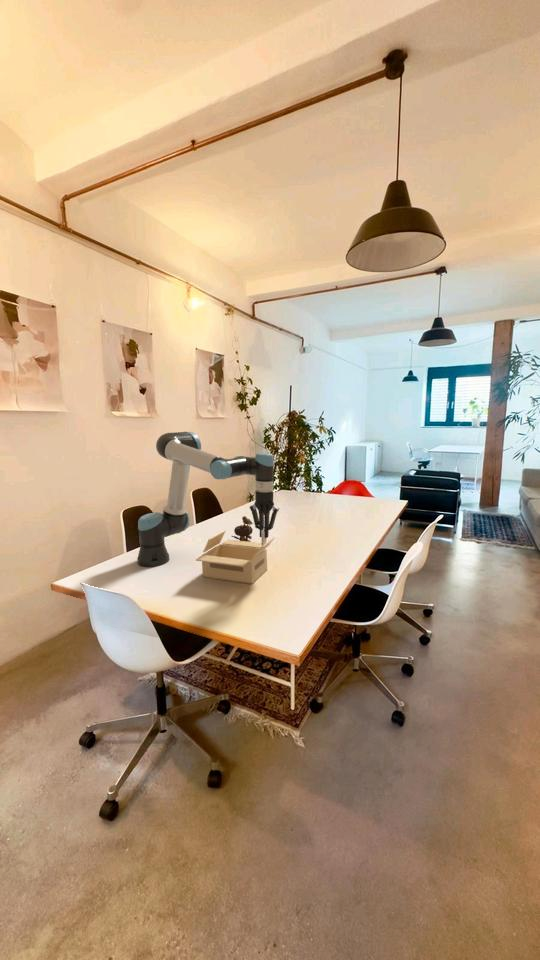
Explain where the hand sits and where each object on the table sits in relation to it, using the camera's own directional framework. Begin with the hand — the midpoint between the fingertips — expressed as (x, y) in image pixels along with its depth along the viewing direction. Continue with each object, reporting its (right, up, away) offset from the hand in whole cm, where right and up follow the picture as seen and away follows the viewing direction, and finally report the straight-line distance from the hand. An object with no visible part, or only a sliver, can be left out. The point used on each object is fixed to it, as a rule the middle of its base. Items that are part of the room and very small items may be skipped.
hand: (263, 544), depth 162 cm
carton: (-13, -14, +8) cm, 21 cm away
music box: (-11, -10, +34) cm, 37 cm away
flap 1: (-24, -3, +11) cm, 26 cm away
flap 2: (-2, -4, +2) cm, 5 cm away
